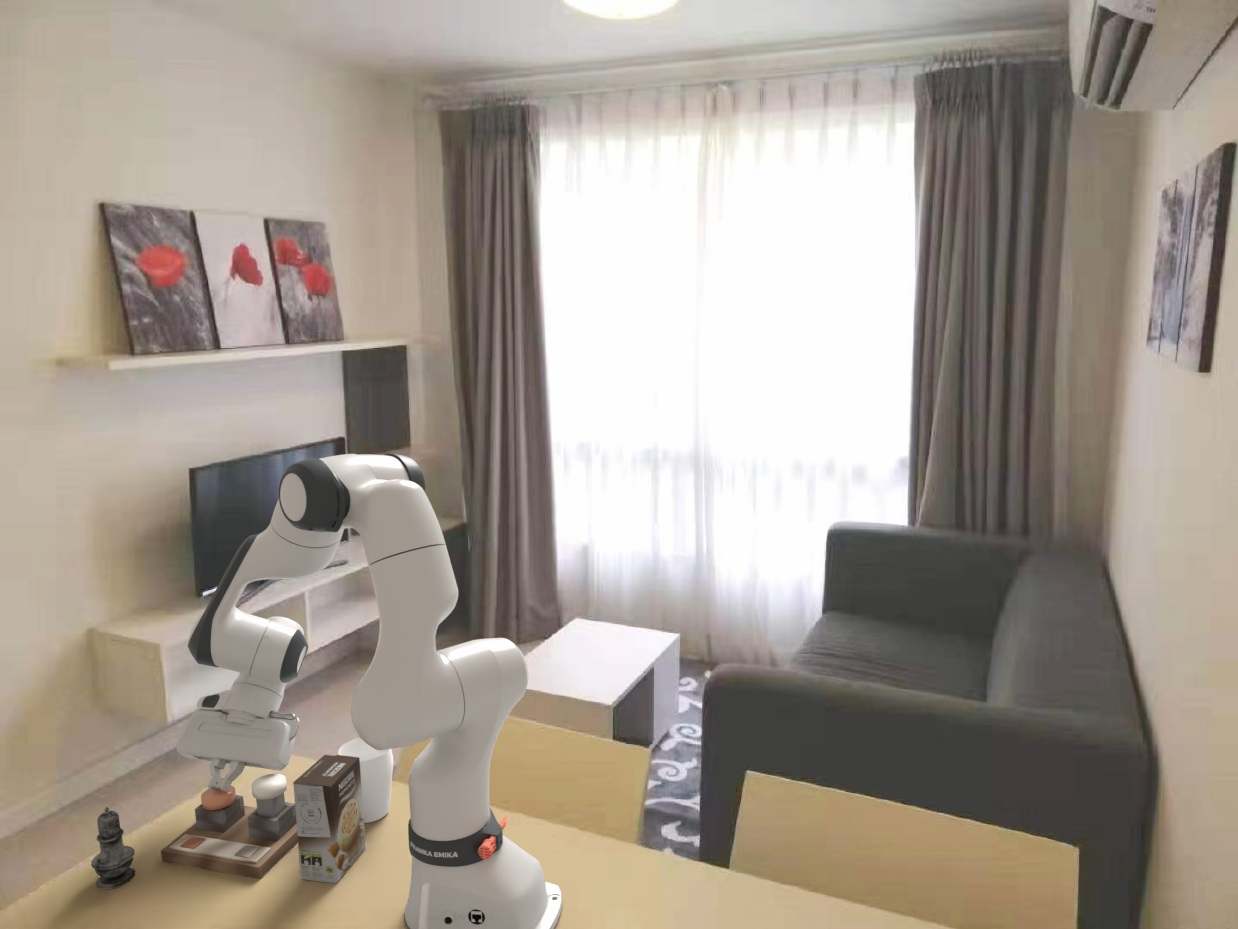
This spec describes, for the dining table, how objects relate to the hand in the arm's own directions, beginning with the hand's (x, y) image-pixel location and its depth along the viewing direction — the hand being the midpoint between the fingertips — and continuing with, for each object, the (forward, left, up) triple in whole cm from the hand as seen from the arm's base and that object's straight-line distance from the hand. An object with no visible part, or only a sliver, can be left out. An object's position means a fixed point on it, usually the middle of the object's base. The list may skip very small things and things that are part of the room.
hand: (217, 790), depth 145 cm
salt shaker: (+8, +14, -8) cm, 18 cm away
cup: (-21, -11, -8) cm, 25 cm away
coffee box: (-23, +3, -8) cm, 25 cm away
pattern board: (-5, +2, -8) cm, 10 cm away
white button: (-10, 0, -2) cm, 10 cm away
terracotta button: (0, 0, -6) cm, 6 cm away
